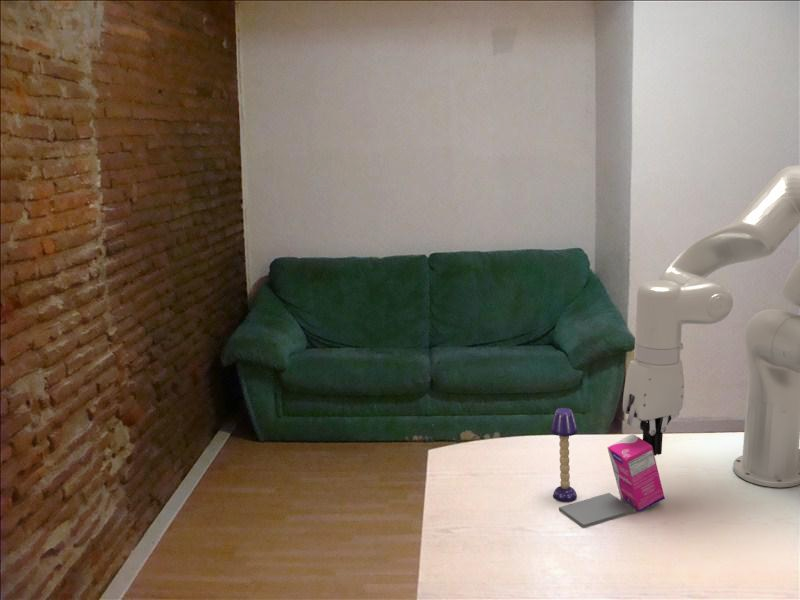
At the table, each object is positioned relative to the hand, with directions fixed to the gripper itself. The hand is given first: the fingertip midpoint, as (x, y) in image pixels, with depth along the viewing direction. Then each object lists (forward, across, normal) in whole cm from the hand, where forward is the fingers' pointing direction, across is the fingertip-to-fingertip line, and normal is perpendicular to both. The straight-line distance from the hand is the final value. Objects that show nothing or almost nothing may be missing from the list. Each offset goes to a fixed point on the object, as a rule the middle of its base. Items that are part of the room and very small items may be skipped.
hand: (651, 452), depth 153 cm
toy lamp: (+10, +12, -9) cm, 18 cm away
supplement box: (+9, +2, 0) cm, 9 cm away
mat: (+10, +10, -1) cm, 14 cm away
